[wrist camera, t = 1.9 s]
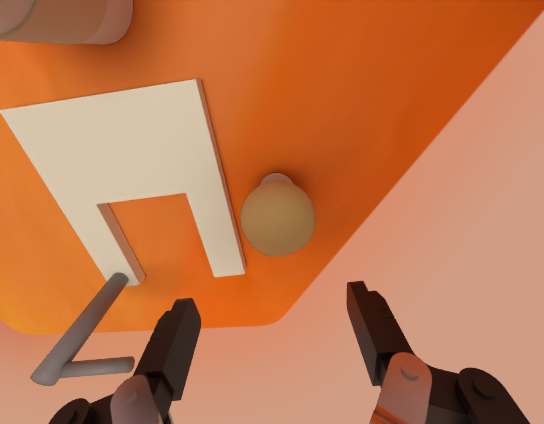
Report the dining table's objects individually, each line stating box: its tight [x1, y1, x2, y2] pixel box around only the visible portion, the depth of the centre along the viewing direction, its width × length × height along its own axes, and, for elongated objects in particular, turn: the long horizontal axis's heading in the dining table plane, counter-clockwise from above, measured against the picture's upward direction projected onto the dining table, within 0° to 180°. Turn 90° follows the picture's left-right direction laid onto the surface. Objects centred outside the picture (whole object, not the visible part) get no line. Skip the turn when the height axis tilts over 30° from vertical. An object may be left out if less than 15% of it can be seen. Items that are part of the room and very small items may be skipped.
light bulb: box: [240, 173, 316, 257], centre depth 22 cm, size 6×6×10 cm
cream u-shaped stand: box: [0, 79, 246, 386], centre depth 22 cm, size 18×22×14 cm
